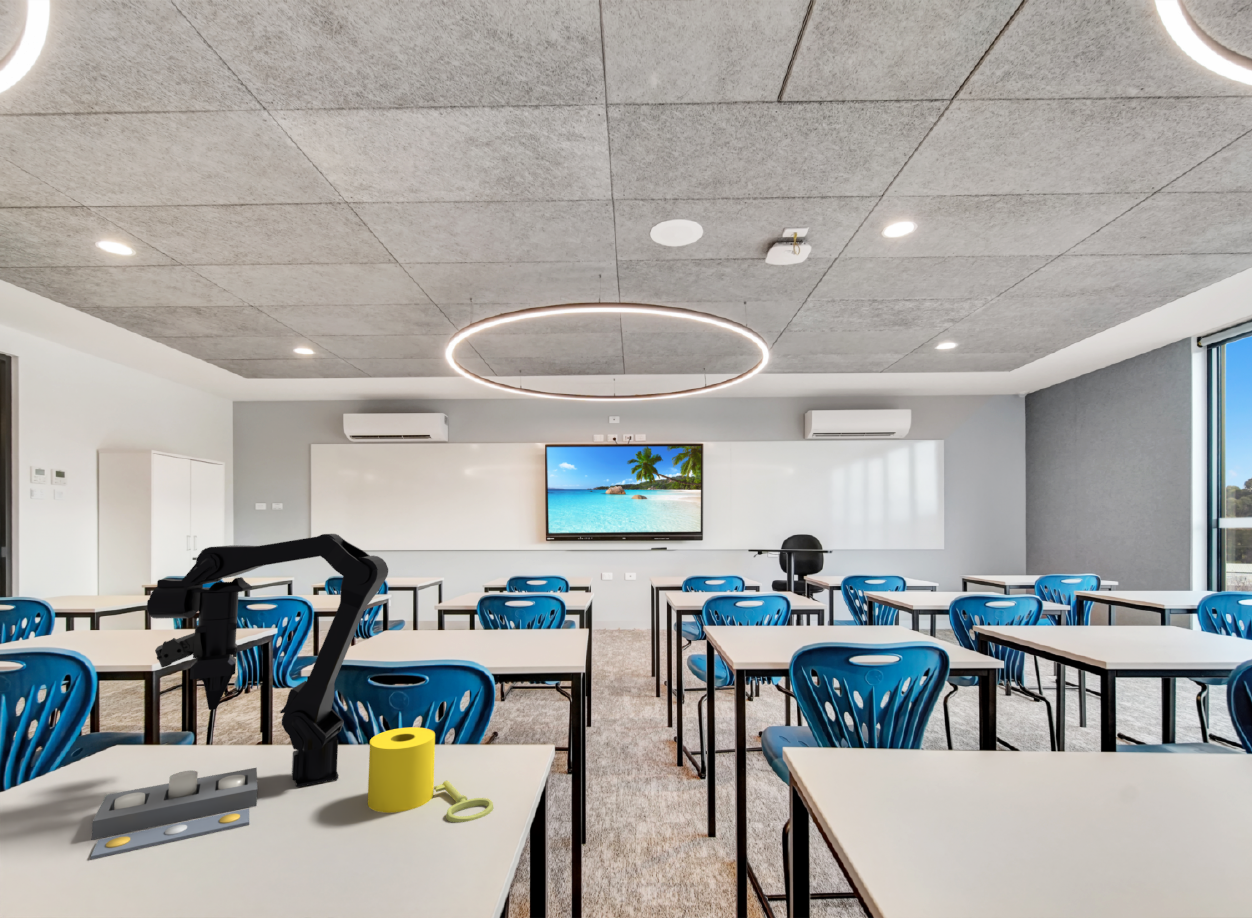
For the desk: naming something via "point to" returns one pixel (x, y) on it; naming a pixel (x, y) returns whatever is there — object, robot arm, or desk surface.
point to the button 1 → (129, 800)
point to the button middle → (182, 784)
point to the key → (463, 804)
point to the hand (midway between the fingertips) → (212, 709)
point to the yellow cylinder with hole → (401, 769)
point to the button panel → (174, 805)
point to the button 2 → (231, 781)
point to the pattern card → (170, 833)
